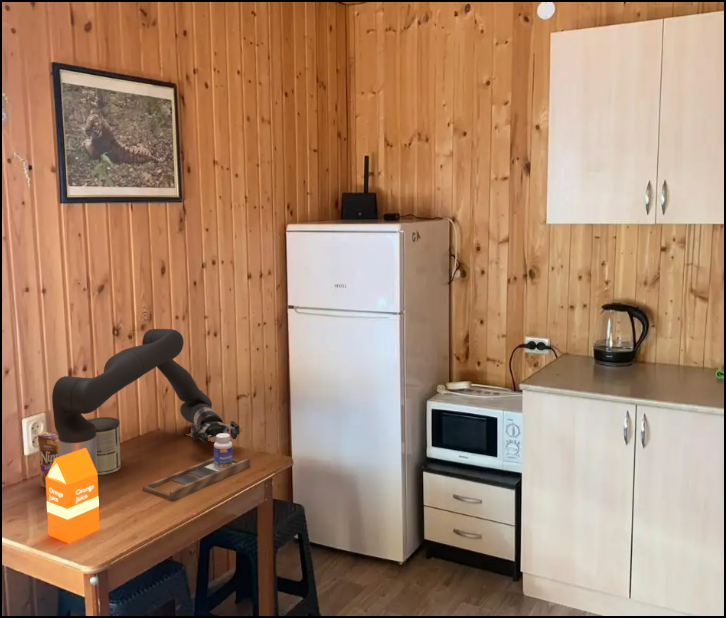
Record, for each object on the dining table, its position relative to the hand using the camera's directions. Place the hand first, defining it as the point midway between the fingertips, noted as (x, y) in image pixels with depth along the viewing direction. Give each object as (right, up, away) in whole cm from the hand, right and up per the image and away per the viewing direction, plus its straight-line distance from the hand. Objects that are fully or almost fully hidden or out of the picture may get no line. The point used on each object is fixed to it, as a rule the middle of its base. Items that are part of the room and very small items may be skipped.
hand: (221, 438), depth 221 cm
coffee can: (-34, -8, -5) cm, 35 cm away
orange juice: (-27, -15, -44) cm, 54 cm away
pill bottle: (+1, -8, -2) cm, 9 cm away
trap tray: (-5, -10, -10) cm, 15 cm away
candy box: (-41, -11, -19) cm, 47 cm away
